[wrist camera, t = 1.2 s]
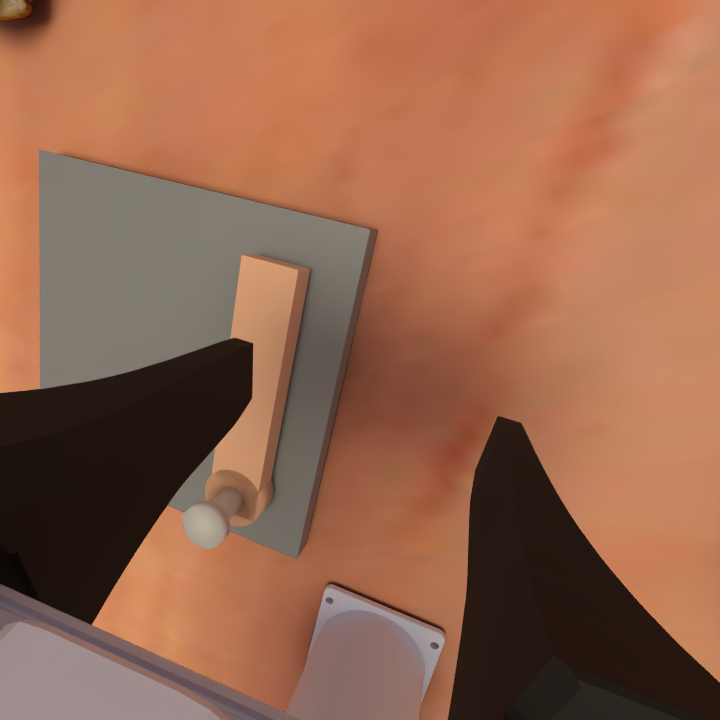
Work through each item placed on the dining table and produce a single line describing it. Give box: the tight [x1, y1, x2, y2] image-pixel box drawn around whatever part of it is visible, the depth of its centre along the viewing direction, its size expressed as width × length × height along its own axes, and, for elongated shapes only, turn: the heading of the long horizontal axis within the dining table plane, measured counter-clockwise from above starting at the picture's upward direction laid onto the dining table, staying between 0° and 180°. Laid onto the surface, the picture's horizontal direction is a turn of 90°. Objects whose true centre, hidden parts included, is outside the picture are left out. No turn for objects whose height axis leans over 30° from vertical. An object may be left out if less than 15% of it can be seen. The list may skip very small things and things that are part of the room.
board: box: [39, 150, 377, 559], centre depth 26 cm, size 20×20×2 cm
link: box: [182, 254, 310, 549], centre depth 22 cm, size 15×4×4 cm, turn 167°
